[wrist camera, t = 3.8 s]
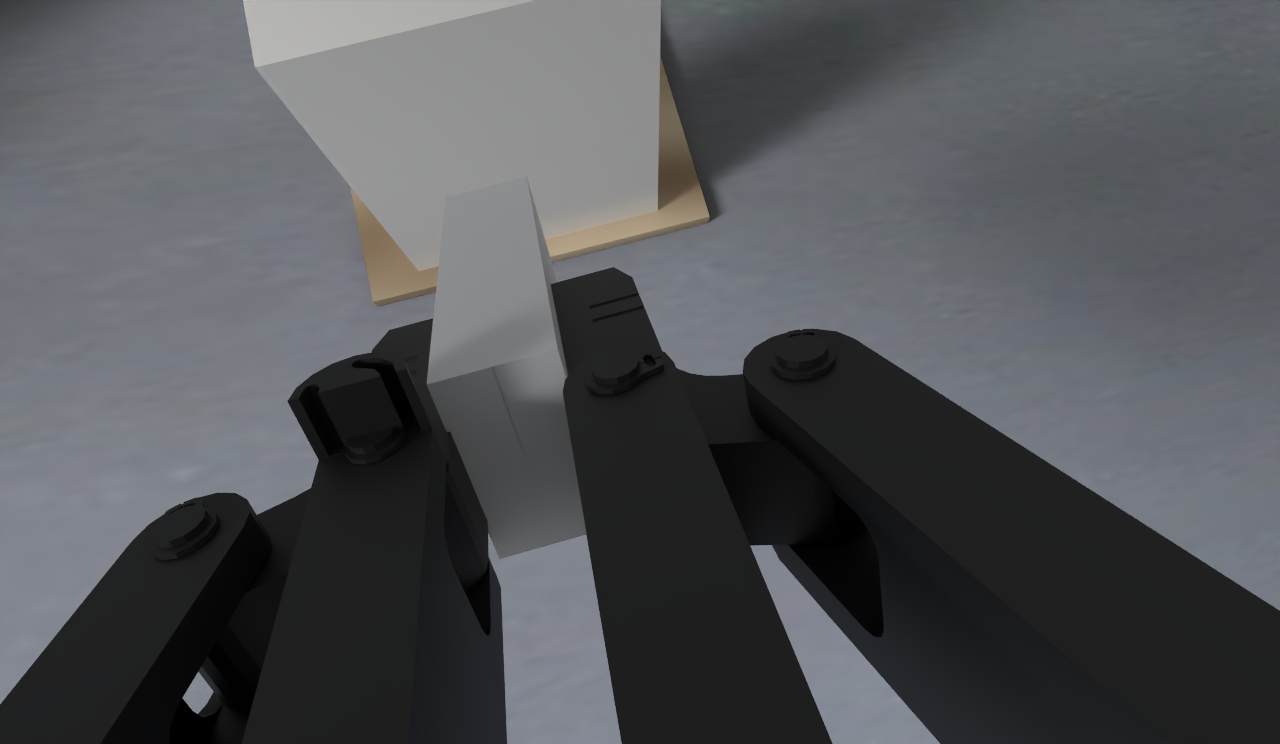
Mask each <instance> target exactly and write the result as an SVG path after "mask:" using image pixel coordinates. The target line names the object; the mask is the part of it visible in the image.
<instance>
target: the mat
mask: <svg viewBox="0 0 1280 744" xmlns="http://www.w3.org/2000/svg"><path fill="white" fill-rule="evenodd" d="M350 187H351V186H350ZM351 192H352V198H353V203H354V208H355V213H356V218H357V223H358V228H359V233H360V238H361V243H362V248H363V253H364V258H365V263H366V268H367V273H368V278H369V283H370V288H371V293H372V298H373V302H374V303H375V304H376V305H377V306H382V305H386V304H390V303H394V302H398V301H401V300H405V299H409V298H413V297H417V296H421V295H425V294H429V293H433V292H436V286H437V276H438V267H434V268H430V269H426V270H422V271H418V270H417V269H416V267H415V266H414V265H413V264H412V262H411V261H410V260H409V259H408V257H407V256H406V255H405V254H404V252H403V251H402V250H401V249H400V247H399V246H398V245H397V244H396V242H395V241H394V240H393V239H392V237H391V236H390V235H389V234H388V232H387V231H386V230H385V229H384V227H383V226H382V225H381V224H380V223H379V221H378V220H377V219H376V218H375V216H374V215H373V214H372V213H371V211H370V210H369V209H368V208H367V206H366V205H365V204H364V203H363V201H362V200H361V199H360V198H359V196H358V195H357V194H356V193H355V191H354V190H353V189H352V188H351ZM709 217H710V216H709V213H708V210H707V206H706V203H705V200H704V197H703V193H702V190H701V187H700V184H699V180H698V177H697V174H696V170H695V167H694V164H693V161H692V157H691V154H690V151H689V148H688V144H687V141H686V138H685V135H684V131H683V128H682V125H681V122H680V118H679V115H678V112H677V108H676V105H675V102H674V99H673V95H672V92H671V89H670V86H669V82H668V79H667V76H666V73H665V69H664V66H663V63H662V59H661V56H660V93H659V155H658V211H655V212H651V213H647V214H643V215H639V216H635V217H631V218H627V219H623V220H619V221H615V222H612V223H608V224H604V225H600V226H596V227H592V228H588V229H584V230H580V231H576V232H572V233H568V234H564V235H560V236H556V237H552V238H548V239H545V241H546V244H547V248H548V251H549V255H550V258H551V261H552V262H555V261H559V260H563V259H567V258H571V257H575V256H578V255H582V254H586V253H590V252H594V251H598V250H602V249H606V248H610V247H614V246H618V245H622V244H626V243H630V242H634V241H637V240H641V239H645V238H649V237H653V236H657V235H661V234H665V233H669V232H673V231H677V230H681V229H685V228H689V227H693V226H696V225H700V224H704V223H708V222H709Z"/></svg>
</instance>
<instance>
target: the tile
mask: <svg viewBox="0 0 1280 744" xmlns="http://www.w3.org/2000/svg"><path fill="white" fill-rule="evenodd" d="M243 3H244V8H245V14H246V20H247V25H248V31H249V37H250V42H251V48H252V54H253V59H254V65H255V68H256V69H257V71H258V72H259V73H260V74H261V76H262V77H263V78H264V79H265V81H266V82H267V83H268V84H269V86H270V87H271V88H272V89H273V91H274V92H275V93H276V94H277V96H278V97H279V98H280V99H281V100H282V102H283V103H284V104H285V105H286V107H287V108H288V109H289V110H290V112H291V113H292V114H293V115H294V117H295V118H296V119H297V120H298V122H299V123H300V124H301V125H302V127H303V128H304V129H305V130H306V132H307V133H308V134H309V135H310V137H311V138H312V139H313V140H314V142H315V143H316V144H317V145H318V147H319V148H320V149H321V150H322V152H323V153H324V154H325V155H326V157H327V158H328V159H329V160H330V161H331V163H332V164H333V165H334V166H335V168H336V169H337V170H338V171H339V173H340V174H341V175H342V176H343V178H344V179H345V180H346V181H347V183H348V184H349V185H350V186H351V188H352V189H353V190H354V191H355V193H356V194H357V195H358V196H359V198H360V199H361V200H362V201H363V203H364V204H365V205H366V206H367V208H368V209H369V210H370V211H371V213H372V214H373V215H374V216H375V218H376V219H377V220H378V221H379V223H380V224H381V225H382V226H383V227H384V229H385V230H386V231H387V232H388V234H389V235H390V236H391V237H392V239H393V240H394V241H395V242H396V244H397V245H398V246H399V247H400V249H401V250H402V251H403V252H404V254H405V255H406V256H407V257H408V259H409V260H410V261H411V262H412V264H413V265H414V266H415V267H416V269H417V270H418V271H422V270H426V269H430V268H434V267H438V266H439V256H440V246H441V236H442V226H443V216H444V206H445V197H448V196H452V195H456V194H460V193H464V192H467V191H471V190H475V189H479V188H483V187H486V186H490V185H494V184H498V183H502V182H505V181H509V180H513V179H517V178H521V177H524V176H527V179H528V183H529V186H530V190H531V193H532V196H533V200H534V203H535V207H536V210H537V214H538V217H539V220H540V224H541V227H542V231H543V234H544V238H545V239H548V238H552V237H556V236H560V235H564V234H568V233H572V232H576V231H580V230H584V229H588V228H592V227H596V226H600V225H604V224H608V223H612V222H615V221H619V220H623V219H627V218H631V217H635V216H639V215H643V214H647V213H651V212H655V211H658V155H659V93H660V31H661V0H243Z"/></svg>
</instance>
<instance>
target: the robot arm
mask: <svg viewBox="0 0 1280 744" xmlns="http://www.w3.org/2000/svg"><path fill="white" fill-rule="evenodd" d="M288 403H289V405H290V407H291V409H292V411H293V413H294V414H295V416H296V418H297V420H298V422H299V424H300V426H301V428H302V429H303V431H304V433H305V435H306V437H307V439H308V441H309V442H310V444H311V446H312V448H313V450H314V452H315V454H316V456H317V457H318V459H319V462H318V465H317V469H316V473H315V476H314V480H313V484H312V487H311V488H310V489H309V490H307V491H305V492H303V493H301V494H299V495H298V496H296V497H294V498H292V499H290V500H288V501H285V502H283V503H281V504H279V505H277V506H275V507H273V508H271V509H269V510H267V511H264V512H262V513H260V514H258V515H256V513H255V512H254V510H253V508H252V507H251V505H250V504H249V502H248V500H247V499H245V498H243V497H242V496H240V495H238V494H236V493H215V494H211V495H207V496H203V497H199V498H194V499H191V500H188V501H186V502H184V504H182V505H181V504H179V505H177V506H175V507H173V508H171V509H169V510H168V511H167V512H166V513H165V514H164V515H162V516H161V517H159V518H158V519H156V520H155V521H153V522H152V523H150V524H149V525H148V526H147V527H146V528H145V529H144V530H143V531H142V532H141V533H140V534H139V535H138V536H137V537H136V538H135V539H134V540H133V541H132V542H131V543H130V544H129V546H128V547H127V548H126V549H125V551H124V552H123V553H122V554H121V555H120V557H119V558H118V559H117V560H116V562H115V563H114V564H113V565H112V567H111V568H110V569H109V570H108V572H107V573H106V574H105V575H104V577H103V578H102V579H101V580H100V582H99V583H98V584H97V585H96V586H95V588H94V589H93V590H92V591H91V593H90V594H89V595H88V596H87V598H86V599H85V600H84V601H83V603H82V604H81V605H80V606H79V608H78V609H77V610H76V611H75V612H74V614H73V615H72V616H71V617H70V619H69V620H68V621H67V622H66V624H65V625H64V626H63V627H62V629H61V630H60V631H59V632H58V634H57V635H56V636H55V637H54V639H53V640H52V641H51V642H50V643H49V645H48V646H47V647H46V648H45V650H44V651H43V652H42V653H41V655H40V656H39V657H38V658H37V660H36V661H35V662H34V663H33V665H32V666H31V667H30V668H29V669H28V671H27V672H26V673H25V674H24V676H23V677H22V678H21V679H20V681H19V682H18V683H17V684H16V686H15V687H14V688H13V689H12V691H11V692H10V693H9V694H8V696H7V697H6V698H5V699H4V700H3V702H2V703H1V704H0V744H507V732H506V707H505V682H504V657H503V632H502V606H501V587H500V584H499V581H498V578H497V575H496V573H495V571H494V568H493V566H492V564H491V561H490V559H489V557H488V533H489V535H490V537H491V540H492V542H493V544H494V547H495V549H496V552H497V554H498V556H499V559H500V558H504V557H508V556H511V555H515V554H518V553H522V552H525V551H529V550H532V549H536V548H540V547H543V546H547V545H550V544H554V543H557V542H561V541H564V540H568V539H571V538H575V537H579V536H582V535H586V534H587V540H588V546H589V552H590V558H591V563H592V569H593V575H594V581H595V587H596V593H597V599H598V605H599V611H600V617H601V623H602V629H603V635H604V641H605V647H606V652H607V658H608V664H609V670H610V676H611V682H612V688H613V694H614V700H615V706H616V712H617V718H618V724H619V730H620V735H621V741H622V744H832V742H831V739H830V737H829V734H828V732H827V730H826V727H825V725H824V722H823V720H822V717H821V715H820V713H819V710H818V708H817V705H816V703H815V701H814V698H813V696H812V693H811V691H810V689H809V686H808V684H807V681H806V679H805V677H804V674H803V672H802V669H801V667H800V665H799V662H798V660H797V657H796V655H795V653H794V650H793V648H792V645H791V643H790V641H789V638H788V636H787V633H786V631H785V629H784V626H783V624H782V621H781V619H780V617H779V614H778V612H777V609H776V607H775V605H774V602H773V600H772V597H771V595H770V593H769V590H768V588H767V585H766V583H765V581H764V578H763V576H762V573H761V571H760V569H759V566H758V564H757V561H756V559H755V556H754V554H753V552H752V549H751V547H750V545H772V546H773V548H774V550H775V552H776V554H777V556H778V558H779V559H780V561H781V562H782V563H783V564H784V565H785V566H786V567H787V569H788V570H789V571H790V572H791V573H792V574H793V575H794V577H795V578H796V579H797V580H798V581H799V582H800V583H801V585H802V586H803V587H804V588H805V589H806V590H807V591H808V593H809V594H810V595H811V596H812V597H813V598H814V599H815V601H816V602H817V603H818V604H819V605H820V606H821V607H822V609H823V610H824V611H825V612H826V613H827V614H828V616H829V617H830V618H831V619H832V620H833V621H834V622H835V624H836V625H837V626H838V627H839V628H840V629H841V630H842V632H843V633H844V634H845V635H846V636H847V637H848V638H849V640H850V641H851V642H852V643H853V644H854V645H855V646H856V648H857V649H858V650H859V651H860V652H861V653H862V654H863V656H864V657H865V658H866V659H867V660H868V661H869V662H870V664H871V665H872V666H873V667H874V668H875V669H876V670H877V672H878V673H879V674H880V675H881V676H882V677H883V678H884V680H885V681H886V682H887V683H888V684H889V685H890V686H891V688H892V689H893V690H894V691H895V692H896V693H897V694H898V696H899V697H900V698H901V699H902V700H903V701H904V702H905V704H906V705H907V706H908V707H909V708H910V709H911V710H912V712H913V713H914V714H915V715H916V716H917V717H918V718H919V720H920V721H921V722H922V723H923V724H924V725H925V726H926V728H927V729H928V730H929V731H930V732H931V733H932V735H933V736H934V737H935V738H936V739H937V740H938V741H939V743H940V744H1280V611H1279V610H1278V609H1276V608H1274V607H1273V606H1271V605H1270V604H1268V603H1267V602H1265V601H1263V600H1262V599H1260V598H1259V597H1257V596H1256V595H1254V594H1253V593H1251V592H1249V591H1248V590H1246V589H1245V588H1243V587H1242V586H1240V585H1238V584H1237V583H1235V582H1234V581H1232V580H1231V579H1229V578H1228V577H1226V576H1224V575H1223V574H1221V573H1220V572H1218V571H1217V570H1215V569H1213V568H1212V567H1210V566H1209V565H1207V564H1206V563H1204V562H1202V561H1201V560H1199V559H1198V558H1196V557H1195V556H1193V555H1192V554H1190V553H1188V552H1187V551H1185V550H1184V549H1182V548H1181V547H1179V546H1177V545H1176V544H1174V543H1173V542H1171V541H1170V540H1168V539H1167V538H1165V537H1163V536H1162V535H1160V534H1159V533H1157V532H1156V531H1154V530H1152V529H1151V528H1149V527H1148V526H1146V525H1145V524H1143V523H1142V522H1140V521H1138V520H1137V519H1135V518H1134V517H1132V516H1131V515H1129V514H1127V513H1126V512H1124V511H1123V510H1121V509H1120V508H1118V507H1116V506H1115V505H1113V504H1112V503H1110V502H1109V501H1107V500H1106V499H1104V498H1102V497H1101V496H1099V495H1098V494H1096V493H1095V492H1093V491H1091V490H1090V489H1088V488H1087V487H1085V486H1084V485H1082V484H1081V483H1079V482H1077V481H1076V480H1074V479H1073V478H1071V477H1070V476H1068V475H1066V474H1065V473H1063V472H1062V471H1060V470H1059V469H1057V468H1056V467H1054V466H1052V465H1051V464H1049V463H1048V462H1046V461H1045V460H1043V459H1041V458H1040V457H1038V456H1037V455H1035V454H1034V453H1032V452H1031V451H1029V450H1027V449H1026V448H1024V447H1023V446H1021V445H1020V444H1018V443H1016V442H1015V441H1013V440H1012V439H1010V438H1009V437H1007V436H1005V435H1004V434H1002V433H1001V432H999V431H998V430H996V429H995V428H993V427H991V426H990V425H988V424H987V423H985V422H984V421H982V420H980V419H979V418H977V417H976V416H974V415H973V414H971V413H970V412H968V411H966V410H965V409H963V408H962V407H960V406H959V405H957V404H955V403H954V402H952V401H951V400H949V399H948V398H946V397H945V396H943V395H941V394H940V393H938V392H937V391H935V390H934V389H932V388H930V387H929V386H927V385H926V384H924V383H923V382H921V381H920V380H918V379H916V378H915V377H913V376H912V375H910V374H909V373H907V372H905V371H904V370H902V369H901V368H899V367H898V366H896V365H894V364H893V363H891V362H890V361H888V360H887V359H885V358H884V357H882V356H880V355H879V354H877V353H876V352H874V351H873V350H871V349H869V348H868V347H866V346H865V345H863V344H862V343H860V342H859V341H857V340H855V339H854V338H851V337H849V336H846V335H844V334H841V333H839V332H836V331H828V330H819V329H803V330H794V331H789V332H787V333H784V334H781V335H777V336H774V337H771V338H769V339H768V340H766V341H764V342H762V343H761V344H759V345H757V346H756V347H754V348H753V350H752V351H751V352H750V353H749V354H748V356H747V357H746V358H745V359H744V367H743V374H740V375H727V376H703V375H696V374H690V373H687V372H685V371H682V370H679V369H677V368H676V367H675V364H674V362H673V361H672V360H671V359H670V357H669V356H668V355H667V354H666V353H665V352H662V350H661V347H660V345H659V342H658V340H657V337H656V335H655V332H654V330H653V327H652V325H651V323H650V320H649V318H648V315H647V313H646V310H645V309H644V305H643V303H642V300H641V298H640V296H639V293H638V291H637V288H636V286H635V283H634V281H633V278H632V277H631V276H629V275H627V274H625V273H623V272H621V271H619V270H618V269H616V268H614V267H613V268H609V269H605V270H602V271H598V272H594V273H590V274H587V275H583V276H579V277H576V278H572V279H568V280H564V281H561V282H557V279H556V275H555V272H554V268H553V265H552V261H551V258H550V255H549V251H548V248H547V244H546V241H545V238H544V234H543V231H542V227H541V224H540V220H539V217H538V214H537V210H536V207H535V203H534V200H533V196H532V193H531V190H530V186H529V183H528V179H527V176H524V177H521V178H517V179H513V180H509V181H505V182H502V183H498V184H494V185H490V186H486V187H483V188H479V189H475V190H471V191H467V192H464V193H460V194H456V195H452V196H448V197H445V206H444V216H443V226H442V236H441V246H440V256H439V266H438V276H437V286H436V296H435V306H434V315H433V319H429V320H425V321H422V322H418V323H414V324H410V325H407V326H403V327H399V328H396V329H392V330H389V331H388V332H387V334H386V335H385V336H384V337H383V338H382V339H381V341H380V342H379V343H378V344H377V345H376V346H375V348H374V349H373V350H372V353H367V354H362V355H356V356H353V357H350V358H347V359H344V360H342V361H339V362H336V363H333V364H331V365H329V366H328V367H326V368H324V369H322V370H320V371H318V372H317V373H315V374H313V375H312V376H310V377H309V378H308V379H307V380H305V381H304V382H303V383H302V384H301V385H299V386H298V387H297V388H296V389H295V391H294V392H293V394H292V395H291V397H290V398H289V400H288ZM198 672H199V673H200V674H201V675H202V677H203V678H204V679H205V681H206V682H207V683H208V685H209V686H210V687H211V688H212V690H213V691H214V692H213V694H212V696H211V698H210V699H209V701H208V703H207V704H206V706H205V707H204V708H203V709H202V710H201V711H200V712H199V714H197V713H195V712H193V711H192V710H191V708H190V707H189V706H188V705H187V703H186V702H185V701H184V700H183V698H182V697H183V696H184V694H185V692H186V691H187V689H188V688H189V686H190V684H191V683H192V681H193V679H194V678H195V676H196V674H197V673H198Z"/></svg>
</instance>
